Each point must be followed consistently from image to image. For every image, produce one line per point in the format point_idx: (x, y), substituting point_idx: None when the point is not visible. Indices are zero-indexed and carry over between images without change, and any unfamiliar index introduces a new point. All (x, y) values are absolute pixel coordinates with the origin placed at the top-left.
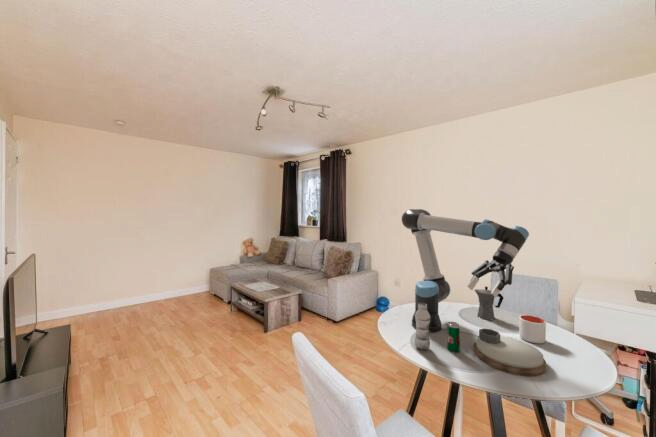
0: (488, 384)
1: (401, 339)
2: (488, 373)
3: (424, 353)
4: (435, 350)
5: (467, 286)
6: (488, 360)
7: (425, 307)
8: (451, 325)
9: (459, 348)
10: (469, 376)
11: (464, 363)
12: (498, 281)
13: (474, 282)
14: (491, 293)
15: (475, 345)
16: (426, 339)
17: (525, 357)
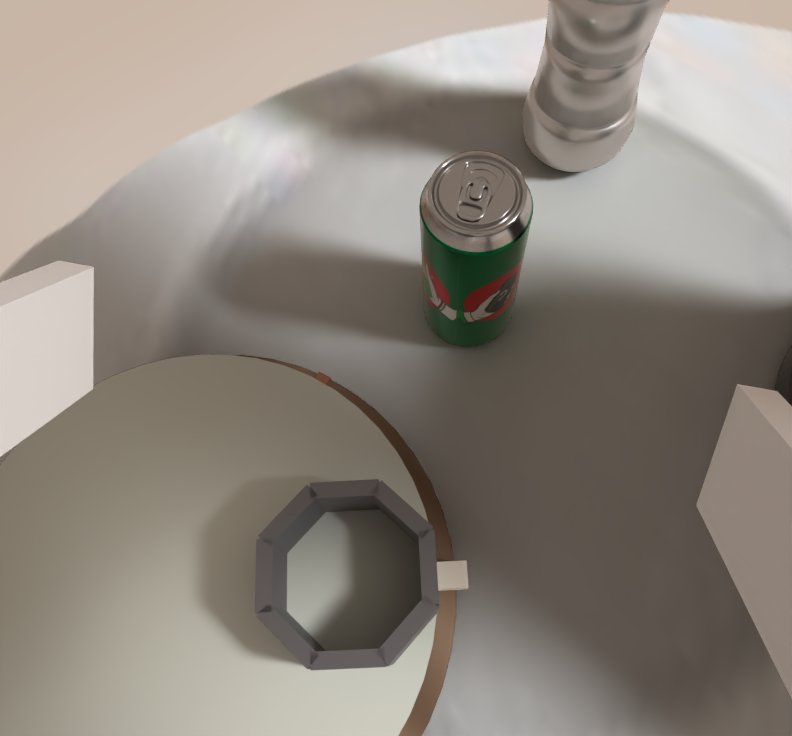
0: (118, 202)
1: (730, 97)
2: (174, 287)
3: (508, 116)
4: None
5: (773, 392)
6: None
7: None
8: (461, 156)
9: (427, 313)
10: (212, 171)
11: (313, 247)
12: None
13: (778, 550)
14: (74, 266)
15: (401, 456)
16: (534, 80)
17: (31, 557)
